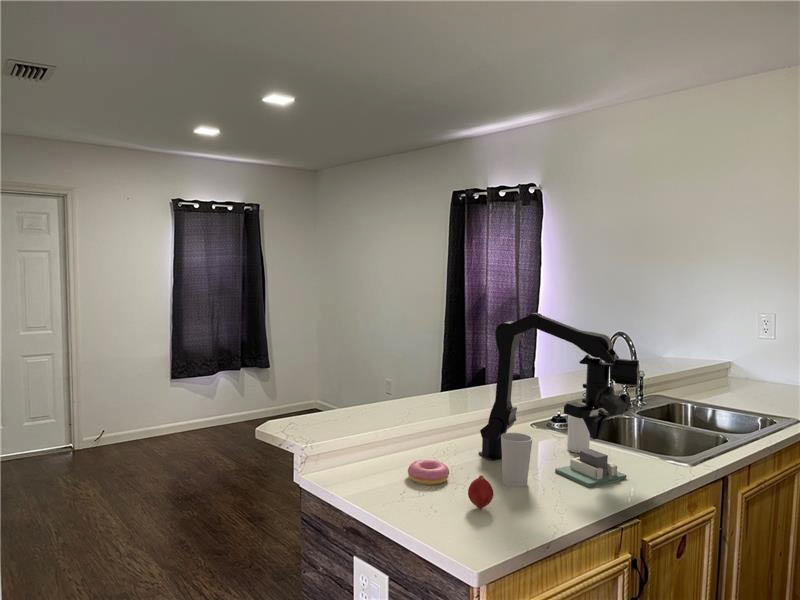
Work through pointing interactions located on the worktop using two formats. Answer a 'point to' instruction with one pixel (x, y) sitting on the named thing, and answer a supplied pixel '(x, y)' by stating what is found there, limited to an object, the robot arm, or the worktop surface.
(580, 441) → the can
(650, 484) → the worktop surface
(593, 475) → the board
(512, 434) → the cup
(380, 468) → the worktop surface
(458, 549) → the worktop surface
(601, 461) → the plug
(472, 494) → the onion
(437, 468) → the doughnut
